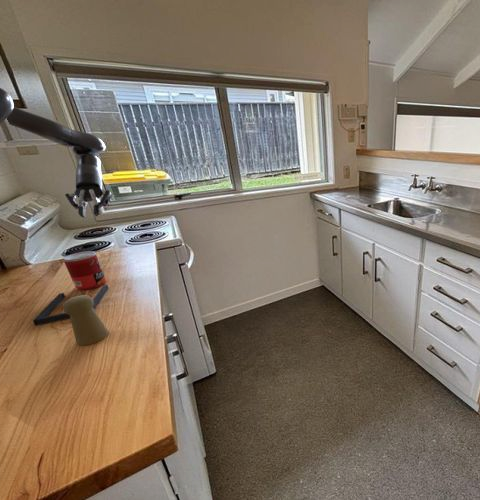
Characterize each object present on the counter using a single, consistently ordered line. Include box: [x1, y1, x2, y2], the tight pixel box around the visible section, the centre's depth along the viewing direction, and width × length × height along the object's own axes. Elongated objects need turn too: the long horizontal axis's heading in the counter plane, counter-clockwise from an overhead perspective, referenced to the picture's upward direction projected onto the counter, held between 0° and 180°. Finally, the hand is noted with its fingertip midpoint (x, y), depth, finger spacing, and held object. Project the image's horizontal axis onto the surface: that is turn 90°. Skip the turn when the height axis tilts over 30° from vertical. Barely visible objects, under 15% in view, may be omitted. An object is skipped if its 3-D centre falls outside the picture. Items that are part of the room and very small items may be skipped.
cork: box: [62, 294, 110, 347], centre depth 67 cm, size 6×6×11 cm
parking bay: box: [32, 284, 110, 326], centre depth 83 cm, size 12×16×2 cm
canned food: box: [63, 250, 107, 291], centre depth 93 cm, size 8×8×11 cm
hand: (89, 215), depth 104 cm, fingers open, 3 cm apart
